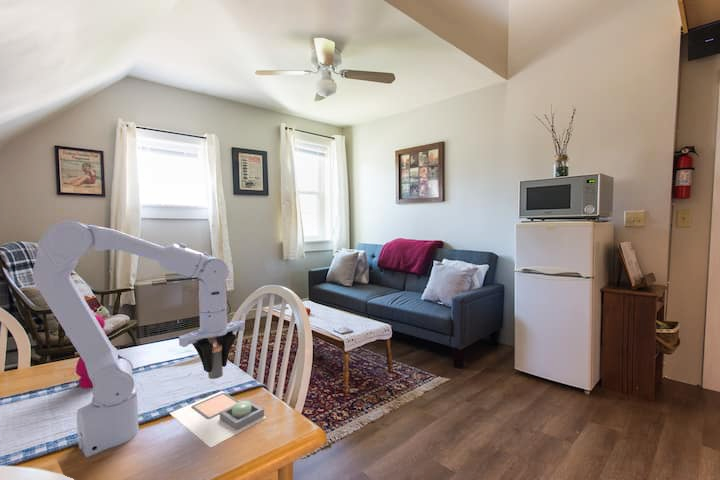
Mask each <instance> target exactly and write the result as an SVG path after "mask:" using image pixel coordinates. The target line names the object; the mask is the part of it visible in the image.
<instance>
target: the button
mask: <svg viewBox="0 0 720 480" xmlns="http://www.w3.org/2000/svg"><path fill="white" fill-rule="evenodd" d="M251 402H252V401H251ZM251 402H248V401H244V400H242V401H240V402H238V403H236V404H234V405H233V406H232V416H233V417H234V418H237V419H240V418H243V417H245V416H247V415H249V414H251V413H252V404H251Z"/></svg>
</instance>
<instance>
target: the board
mask: <svg viewBox="0 0 720 480" xmlns="http://www.w3.org/2000/svg"><path fill="white" fill-rule="evenodd" d="M243 401H248V402H251V404H252V413H251V414H249V415H247V416H245V417H243V418H240V419H237V418H234V417H233V416H232V406H233V405H234V404H236V403H238V402H241V401H240V400H238V399H237V398H234V397H233V396H231V395H229V394H228V393H226V392H225V391H222V390H221V391H218V392H216V393H213V394H212V395H209V396H207V397H204V398H203V399H200V400H197V401H196V402H193V403H191V404H188V405H186V406H183V407H181V408H178V409H176V410H173V411H171V412H169V413H168V414H169V415H171V416H172V417H173V418H174V419H175V420H177V421H178V422H179V423H180V424H181V425H183V427H185V429H187V430H188V431H190V432H191V433H192V434H193V435H195V437H197V438H198V439H199V440H200V441H201V442H203V443H204V444H205V445H207V446H208V447H209V448H213V447H215V446H216V445H219V444H220V443H223V442H224V441H226V440H228V439H229V438H232V437H234V436H235V435H238V434H239V433H241V432H243V431H244V430H246V429H248V428H250V427H252V426H253V425H256V424H257V423H259V422H261V421H262V420H265V419H267V417H266V416H265V409H264V408H263V407H261V406H259V405H258V404H256V403H254V402H252V401H251V400H249V399H244V400H243Z"/></svg>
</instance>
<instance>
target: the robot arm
mask: <svg viewBox="0 0 720 480" xmlns="http://www.w3.org/2000/svg"><path fill="white" fill-rule="evenodd" d="M92 246H94V250H93V251H94V252H100V251H108V250H116V251H117V250H118V251H122V252H125V253H129V254H132V255H136V256H138V257H143V258H147V259H150V260H153V261H158V264H159V265H160V268H161V269H162V270H165V271H168V272H170V273H175V274H177V275H183V276H185V277H188V278H192V279H195V278H198V284H199V286H198V289H199V290H198V309H199V310H198V311H199V329H197V330H194V331H191V332H189V333H186V334H183V335H180V336H178V345H179V346H180V347H182V348H185V347H188V346H189V345H192V346H193V347H194V349H195V350H196V352H197V354H198V356H199V359H200V361H201V364H202V367H203V370H204V371H205V372H207V373H208V372H211V370H212V363H211V355H212V348H213V344H214V343H211V342H210V339H214V338H215V339H216V344H217V343H219V344H222V368H225V367H227V364H228V359H229V355H230V351H231V349H232V347H233V344H234V343H235V341H236V339H237V335H236V334H235V333H234V332H237V331H244V330H246V329H245V328H246V327H245V325H246V324H245V323H246V322H245V321H244V320H243V321H242V320H237V321H231V322H228V304H227V302H228V301H227V300H228V299H227V288H226V280H227V278H228V276H229V274H230V270H229V269H228V266H227V264H226V263H225V261H224V260H223V259H221V258H217V257H215V256H214V255H209V252H207V251H203V252H199V251H198V250H193V249H192V248H188V247H187V244H184V243H181V242H179V244H176V243H171V244H169V245H165V246H161V245H159V244H157V243H154V242H153V243H152V242H150V241H149V240H148V241H147V240H145V239H141V238H140V237H136V236H134V235H130V234H128V233H126V232H123V231H120V230H117V229H113V228H109V227H105V226H98V225H92V224H87V223H84V222H80V221H75V220H74V221H71V220H70V221H69V220H68V221H67V220H66V221H59V222H57V223H55V224H53V225H51V226H50V227H49V228H48V229H47V230H46V231H45V233H44V234H43V235H42V237H41V238H40V239H39V241H38V243H37V252H36V255H35V257H36V258H35V261H34V266H33V269H32V273H31V275H32V276H31V278H32V279H31V280H32V281H33V283H34V285H35V286H36V288H37V290H38V291H39V293H40V295H41V296H42V298H43V299H44V301H45V303H46V304H47V305H48V307H49V308H50V310H51V312H52V313H53V315H54V316H55V318H56V320H57V321H58V323H59V325H60V326H61V327H62V329H63V330H64V332H65V334H66V335H67V337H68V339H69V340H70V342H71V343H72V345H73V347H74V348H75V351H77V353H78V355H79V357H80V356H81V358H82V359H83V361H84V362H85V365H86V369H87V372H88V376H89V378H90V379H91V381H92V383H93V387H92V396H93V397H92V398H91V402H90V403H88V404H86V405H84V406H83V407H82V406H81V407H80V408H78V409H77V410H76V427H77V428H76V429H77V441H78V443H77V444H78V448H79V450H81V451H82V453H83V454H84V456H85V457H86V458H89V457H91V456H93V455H96V454H98V453H100V452H102V451H103V452H104V451H105V450H108V449H111V448H113V447H117V446H119V445H122V444H124V443H127V442H129V441H131V439H133V438H134V437H135V436H137V435H138V433H139V429H140V428H139V411H138V410H139V409H138V408H139V407H138V388H137V387H136V386H135V381H134V380H135V379H134V377H133V371H134V366H133V363H132V362H131V360H129V358H127V357H125V356H124V355H121V354H120V352H119V351H118V349H117V348H116V347H115V346H114V345H113V344H112V343H111V341H110V340H109V337H108V336H107V334H106V332H105V331H104V328H103V329H102V327H101V326H100V324H99V322H98V321H97V319H96V317H95V316H94V315H95V313H94V314H93V312H92V311H91V310H92V309H91V308H90V306H89V304H88V302H87V300H86V299H85V298H84V296H83V294H82V292H81V291H80V289H79V287H78V286H77V284H76V282H75V280H74V279H73V277H72V273H73V271H74V269H75V268H76V266H77V264H78V262H79V259H80V258H81V257H83V255H84V254H85V253H87V252H88V251H89V250H90V249H91V248H92ZM94 447H95V448H94ZM93 448H94V449H93Z"/></svg>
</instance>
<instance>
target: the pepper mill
mask: <svg viewBox="0 0 720 480" xmlns="http://www.w3.org/2000/svg"><path fill="white" fill-rule="evenodd" d="M91 311H92V312H93V314H94V316H95V317H96V319H97V321H98V322H99V324H100V326H101V327H102V329H103V330H104V329H105V325H106V324H105V323H106V322H105V319H104V318H103V317H102V316H101V315H98V314H96V315H95V311H94V310H92V309H91ZM75 373H76V375H77V376H78V377H80V378H79V379H78V387H80V388H81V389H90V388H93V383H92V381H91V379H90V378H89V376H88V372H87V369H86V365H85V362H84V361H83V359H82V358H81V356H80V355H79V358H78V360H77V363H76V366H75Z"/></svg>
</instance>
